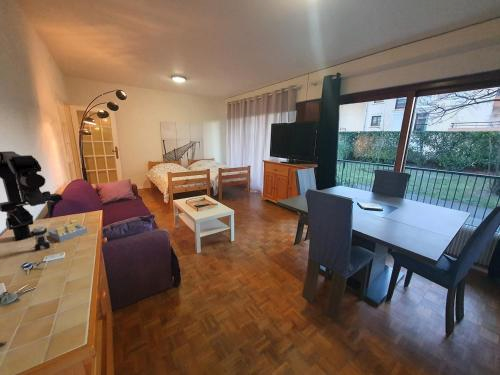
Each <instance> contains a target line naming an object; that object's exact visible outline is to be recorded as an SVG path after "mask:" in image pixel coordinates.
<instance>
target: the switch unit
mask: <svg viewBox="0 0 500 375" xmlns="http://www.w3.org/2000/svg"><path fill="white" fill-rule="evenodd" d="M67 225H68V224H67ZM67 225H63V226H62V227H64V228H65V233H64V234H60V235H57V234H56V230H55V229H56V228H53V229H49V230H47V233H48V236H49V237H50V238H52V239H53V240H56V241H58V242H59V243H63V242H64V241H69V240H71V239H74V238H77V237H81V236H83V235H86V234H88V229H87V227H86V226H83V225H80V224H79V225H77V226H74V227H75V230H73V231H70V232H67V231H66V227H65V226H67ZM60 227H61V226H59V227H58V228H60Z"/></svg>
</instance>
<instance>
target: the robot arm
mask: <svg viewBox="0 0 500 375" xmlns="http://www.w3.org/2000/svg"><path fill="white" fill-rule="evenodd" d="M39 172H42V166H41V165H40V163H39V161H38V160H37V159H36V158H35V157H34V156H33V155H31V154H29V155H21V154H19V153H16V152H15V151H13V150H12V151H10V150H9V151H8V150H7V151H0V179H1V180H2V183H3V188H4V191H5V195H6V199H7V201H5V202H0V212H1V213H6V218H5V226H6V227H5V228H6V229H7V230H9V231H12V233H13V237H12V239H13V241H15V242H19V241H22V240H25V239H28V238H33V237H34V236H32V234H31V233H30V232H31V230H30V226H31V225H34V216H33V214H31V213H30V211H29V210H28V209H27V208H25V207H24V206H28V205H29V206H30V207H36V206H39V205H45V204H46V206H47V211H48V216H49V218H53V215H54V209H55V207H56V205H58V204H59V203H60V202H62V201H63V200H64V198H63V195H62V194H59V193H51V191H49V190H47V191H41V188H42V187H43V186H45V184H46V178H45V177H44V176H43V175H41V174H40V173H39ZM38 173H39V174H38Z"/></svg>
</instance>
